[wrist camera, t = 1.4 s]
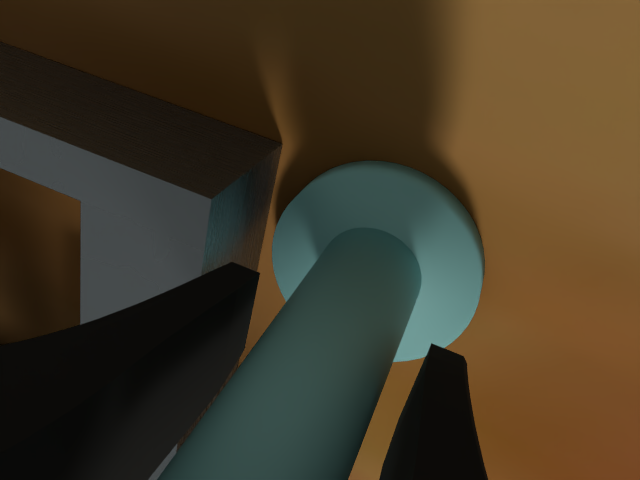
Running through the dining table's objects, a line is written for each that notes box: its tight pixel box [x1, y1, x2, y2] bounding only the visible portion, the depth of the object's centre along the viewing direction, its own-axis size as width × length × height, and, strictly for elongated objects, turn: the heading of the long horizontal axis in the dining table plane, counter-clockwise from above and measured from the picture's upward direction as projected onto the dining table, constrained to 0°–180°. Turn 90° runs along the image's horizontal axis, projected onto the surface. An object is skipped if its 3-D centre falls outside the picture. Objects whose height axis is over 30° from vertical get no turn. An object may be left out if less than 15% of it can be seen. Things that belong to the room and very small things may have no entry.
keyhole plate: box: [0, 42, 282, 480], centre depth 18 cm, size 16×12×3 cm
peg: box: [157, 161, 485, 480], centre depth 11 cm, size 5×5×9 cm
